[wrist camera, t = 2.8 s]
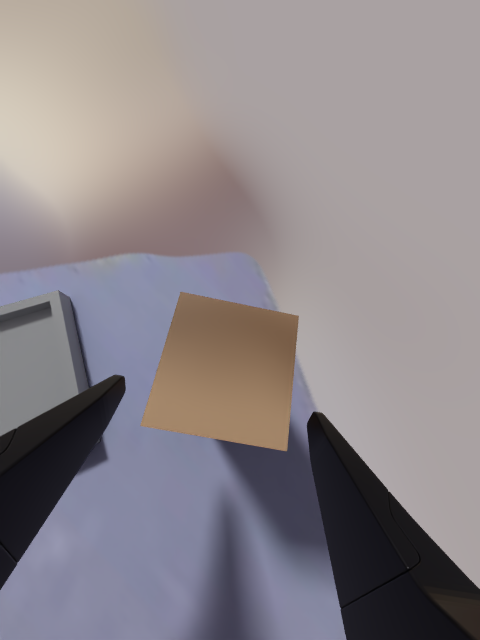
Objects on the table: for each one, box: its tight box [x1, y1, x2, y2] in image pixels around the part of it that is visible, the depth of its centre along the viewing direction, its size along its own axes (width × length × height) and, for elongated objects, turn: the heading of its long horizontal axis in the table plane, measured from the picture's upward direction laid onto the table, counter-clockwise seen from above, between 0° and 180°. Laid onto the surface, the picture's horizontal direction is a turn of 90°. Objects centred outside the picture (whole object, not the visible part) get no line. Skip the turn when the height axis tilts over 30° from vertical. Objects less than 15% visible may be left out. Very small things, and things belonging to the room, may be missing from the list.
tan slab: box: [140, 292, 299, 451], centre depth 13 cm, size 4×7×13 cm, turn 80°
